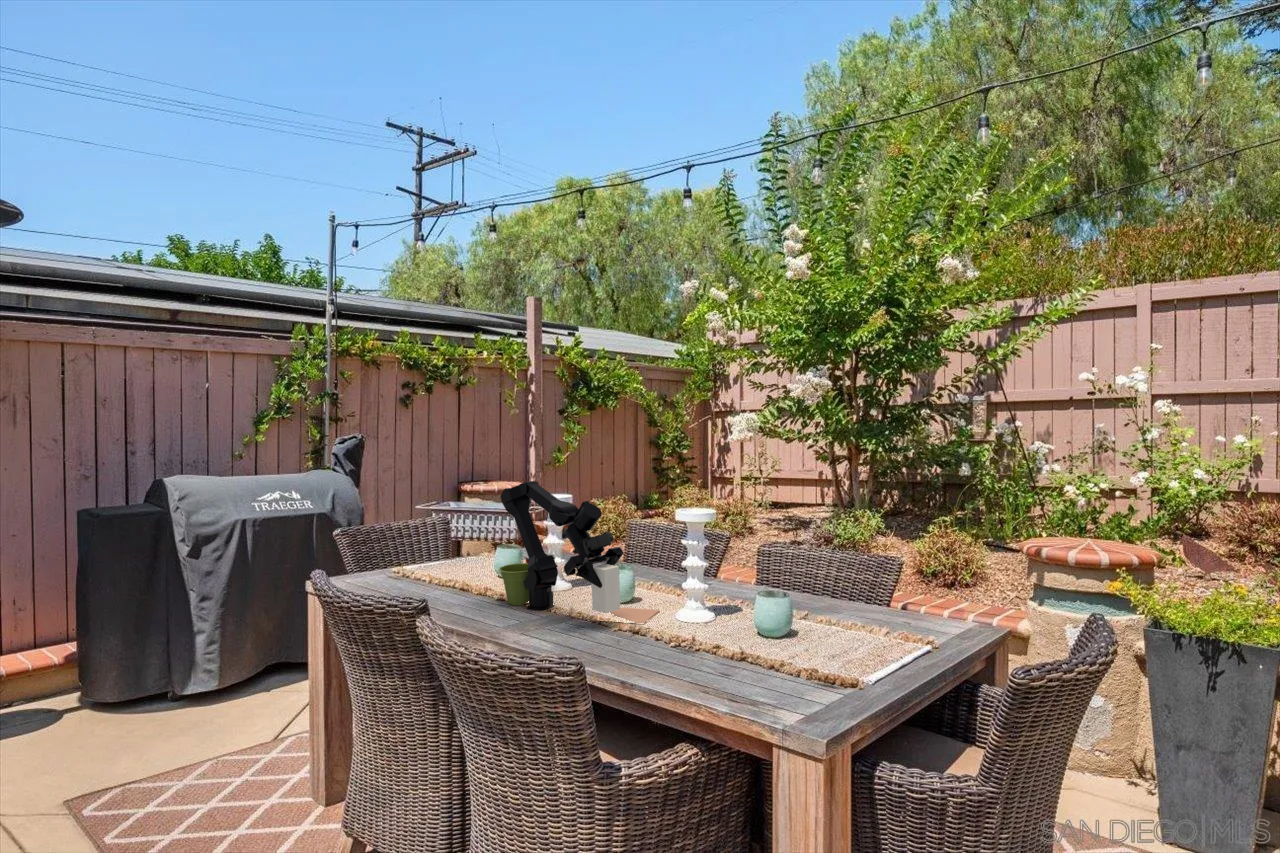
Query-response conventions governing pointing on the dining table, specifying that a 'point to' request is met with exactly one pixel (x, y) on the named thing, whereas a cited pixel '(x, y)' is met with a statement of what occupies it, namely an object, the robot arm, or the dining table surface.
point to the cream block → (606, 589)
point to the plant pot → (515, 583)
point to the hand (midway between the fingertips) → (609, 585)
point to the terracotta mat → (634, 614)
